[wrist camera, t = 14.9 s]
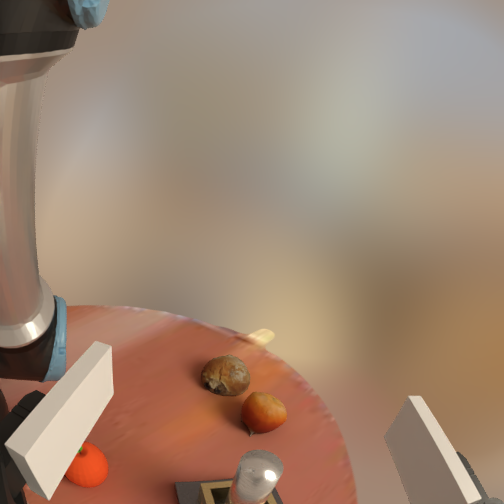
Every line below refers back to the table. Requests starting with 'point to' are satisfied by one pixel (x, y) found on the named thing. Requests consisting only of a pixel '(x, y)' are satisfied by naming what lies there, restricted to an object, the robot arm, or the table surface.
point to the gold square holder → (211, 492)
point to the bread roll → (226, 376)
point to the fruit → (262, 413)
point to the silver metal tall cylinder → (255, 478)
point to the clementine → (88, 466)
